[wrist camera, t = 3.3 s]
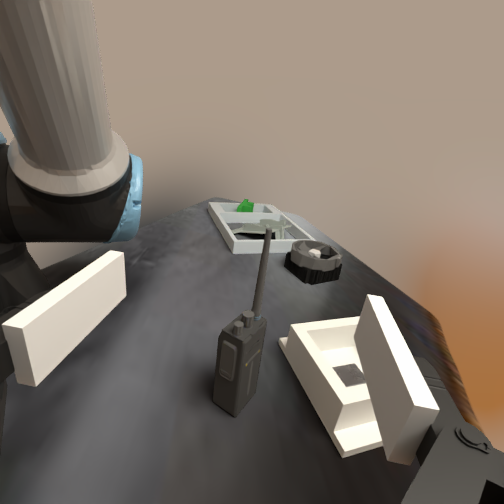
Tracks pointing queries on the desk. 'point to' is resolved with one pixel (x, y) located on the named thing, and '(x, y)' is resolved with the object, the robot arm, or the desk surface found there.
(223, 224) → the desk organiser
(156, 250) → the desk surface
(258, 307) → the walkie-talkie
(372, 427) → the charging cradle
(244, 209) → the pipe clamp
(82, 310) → the robot arm
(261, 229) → the metal bracket
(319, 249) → the cpu cooler
